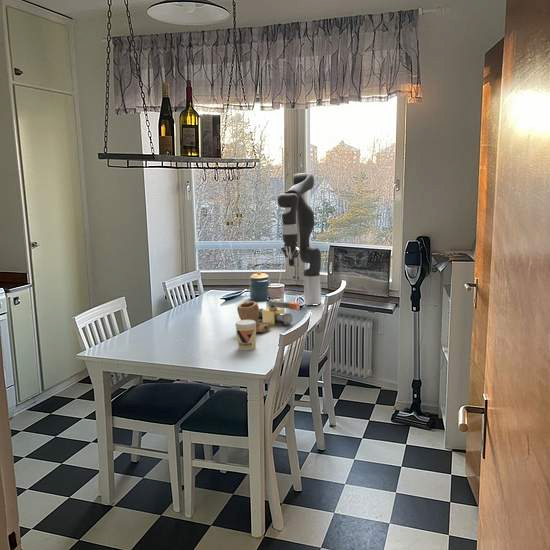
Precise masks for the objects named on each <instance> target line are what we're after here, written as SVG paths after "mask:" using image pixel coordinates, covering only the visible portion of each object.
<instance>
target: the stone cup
mask: <svg viewBox="0 0 550 550" xmlns="http://www.w3.org/2000/svg"><path fill="white" fill-rule="evenodd" d="M259 308H260V307H259V304H258V303H257V301H253V300H250V301H249V302H247V301H244V302H242V303H240V304H238V305H237V314H238V318H239V319H240V320H254V321H255V322H256V333H266V332H267V331H269V330H270V329H271V327H272V325H270V324H263V323H261V322H259V320H258V318H259Z"/></svg>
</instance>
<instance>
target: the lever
mask: <svg viewBox="0 0 550 550" xmlns="http://www.w3.org/2000/svg"><path fill="white" fill-rule="evenodd" d="M267 301H268V302H267V305H268V308H269V307H278V308H284V309H288V310H293V311H294V310H295V311H298V310H300V309H301V308H300V306H301V305H300V302H294V301H291V302H290V301H280V300H276V299H269V300H267Z"/></svg>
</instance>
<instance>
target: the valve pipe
mask: <svg viewBox="0 0 550 550" xmlns="http://www.w3.org/2000/svg"><path fill="white" fill-rule="evenodd" d="M258 321H259V323H262V324H270V325H271V326H280V327H283V326H288V327H289V326H290V325H292V322H293V315H292V314H291V313H290V312H286V313H285V308H280V307H269V306H268V307H267V308H260V307H259V318H258Z"/></svg>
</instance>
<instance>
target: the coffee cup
mask: <svg viewBox="0 0 550 550" xmlns="http://www.w3.org/2000/svg"><path fill="white" fill-rule="evenodd" d="M235 329H236V330H235V331H236V339H237V347H238V350H240V351H252V350H255V349H256V347H257V345H256V344H257V342H256V341H257V332H256V322H255V321H254V320H241V319H240V320H237V321H236V322H235Z"/></svg>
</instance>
